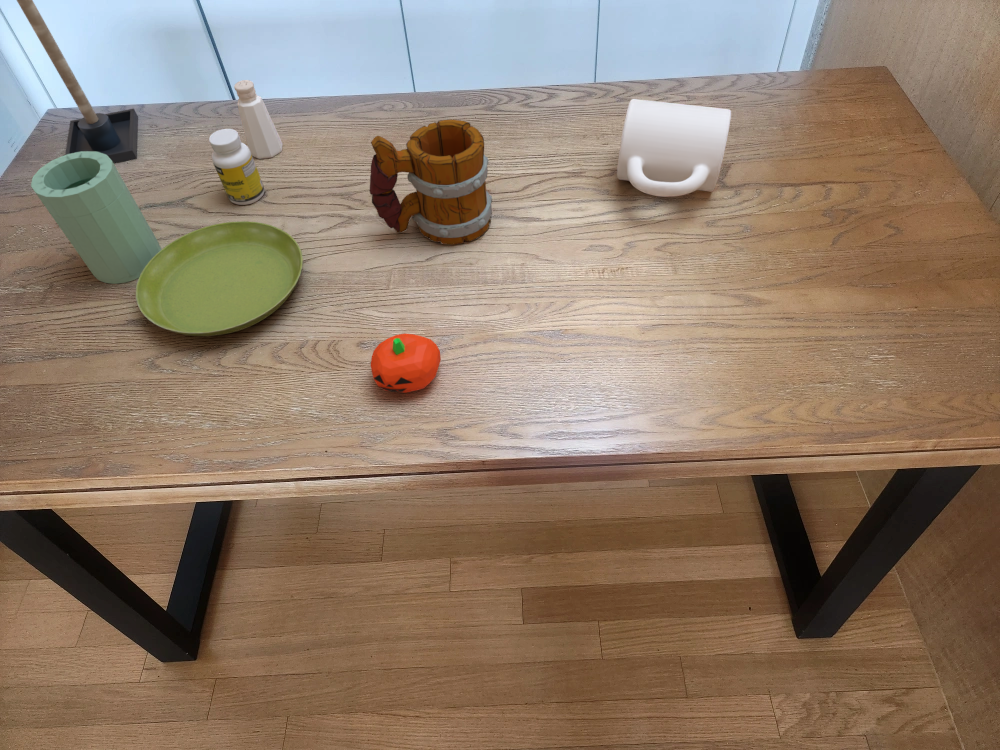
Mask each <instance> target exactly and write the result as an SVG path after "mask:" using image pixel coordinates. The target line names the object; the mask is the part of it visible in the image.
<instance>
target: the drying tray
mask: <svg viewBox="0 0 1000 750" xmlns="http://www.w3.org/2000/svg"><path fill="white" fill-rule="evenodd" d="M105 114H106V115H107V116H108V118H109V119H110V121H111V123H112V125H113V127H114V129H115V131H116V132H117V134H118V136H119V138H120V142H119V144H118V145H117V146H115V147H114V148H112V149H109V150H106V151H96V152H100V153H103V154H106V155H107V156H108V157H109V158H110V159H111V160H112V162H113V163H114V165H115V164H119V163H120V164H121V163H124V162H130V161H134V160H137V159H138V137H139V116H138V114H137V111H136V110H135V108H129V109H124V110H119V111H114V112H108V113H105ZM81 119H82V118H77V119H72V120H69V126H68V133H67V134H68V136H67V141H66V147H65V154H64V155H67V154H71V153H76V152H81V151H95V150H93V149H91V147H90V145H89V144H88V142H87V140H86V139H85V137H84V135H83V133H82V132H81V130H80V128H79V127H78V122H79V121H80V120H81Z"/></svg>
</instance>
